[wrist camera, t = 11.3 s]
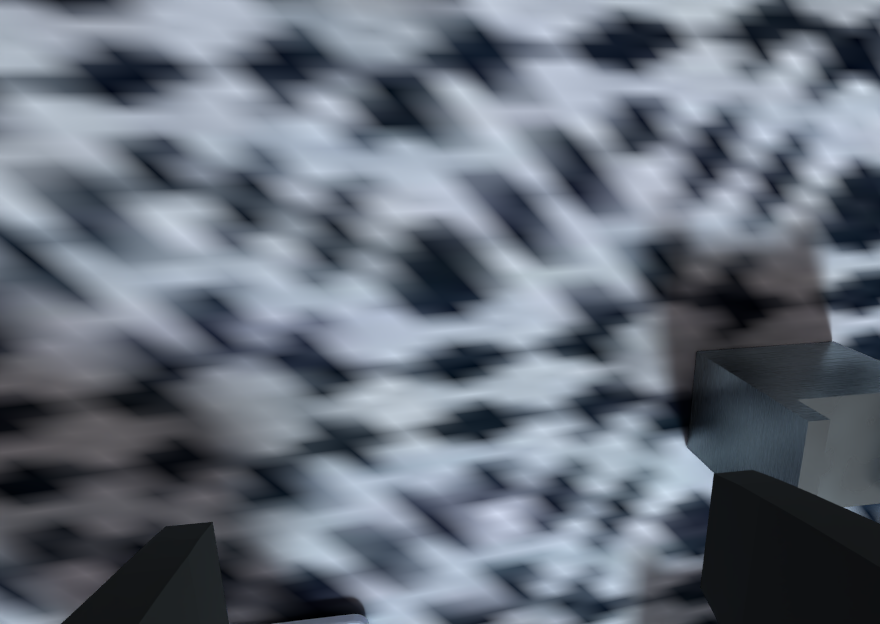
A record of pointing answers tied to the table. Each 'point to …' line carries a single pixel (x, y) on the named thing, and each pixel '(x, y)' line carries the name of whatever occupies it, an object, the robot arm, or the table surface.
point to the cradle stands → (791, 417)
